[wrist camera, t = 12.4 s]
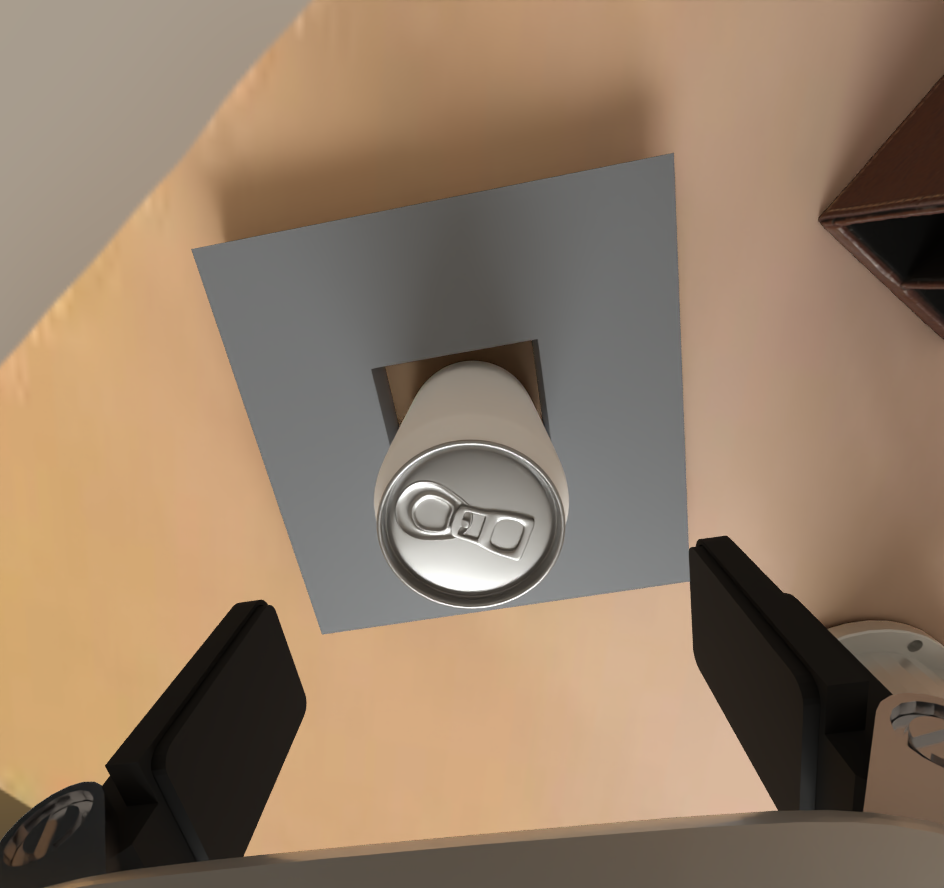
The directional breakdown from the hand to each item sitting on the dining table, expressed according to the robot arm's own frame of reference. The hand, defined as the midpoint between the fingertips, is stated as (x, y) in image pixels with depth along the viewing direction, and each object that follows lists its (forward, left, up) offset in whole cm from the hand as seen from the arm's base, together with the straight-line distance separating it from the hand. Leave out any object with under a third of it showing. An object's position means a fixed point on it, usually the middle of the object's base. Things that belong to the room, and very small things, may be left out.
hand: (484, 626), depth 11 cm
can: (0, 0, -16) cm, 16 cm away
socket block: (0, 0, -16) cm, 16 cm away
